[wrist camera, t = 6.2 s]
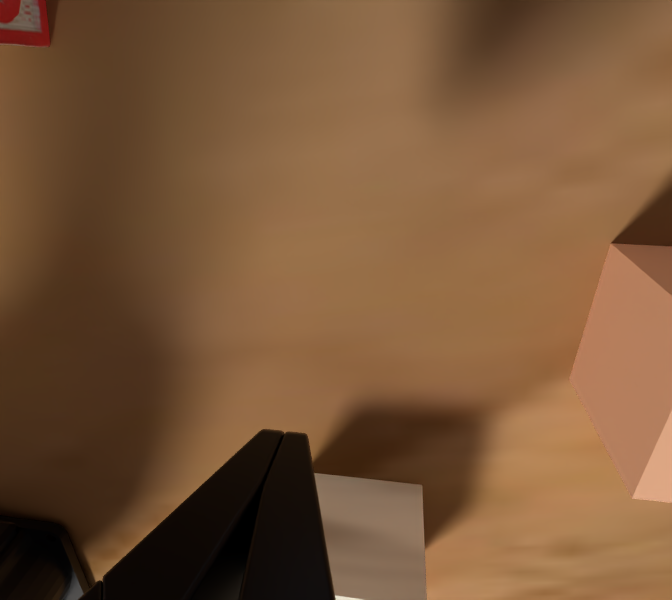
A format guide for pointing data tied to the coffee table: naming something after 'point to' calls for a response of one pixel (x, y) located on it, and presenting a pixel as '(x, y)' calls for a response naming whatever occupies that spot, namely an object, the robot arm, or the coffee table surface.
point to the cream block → (373, 537)
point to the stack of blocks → (24, 23)
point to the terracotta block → (631, 367)
